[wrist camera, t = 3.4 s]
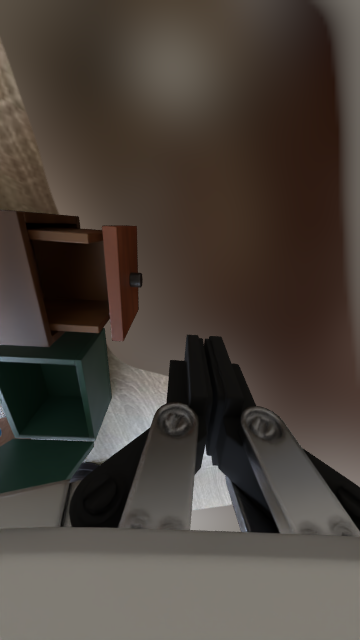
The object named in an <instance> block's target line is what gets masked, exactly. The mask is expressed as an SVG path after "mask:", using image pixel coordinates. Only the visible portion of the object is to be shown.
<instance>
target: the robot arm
mask: <svg viewBox="0 0 360 640" xmlns="http://www.w3.org/2000/svg"><path fill="white" fill-rule="evenodd" d="M185 350H186V351H185V360H184V361H177V360H170V368H169V380H168V393H167V404H165V405H163V406H161V407H160V408H159V409H158V410H157V411H156V413H155V415H154V418H153V421H152V424H151V427H150V428H149V429H148V430H146V431H145V432H144V433H142V434H141V435H140V436H138V437H137V438H136V439H134V440H133V441H132V442H130V443H129V444H128V445H126V446H125V447H124V448H122V449H121V450H120V451H118V452H117V453H116V454H114V455H113V456H112V457H110V458H109V459H108V460H106V461H105V462H104V463H102V464H101V465H100V466H98V467H97V468H95V469H94V470H93V471H91V472H90V473H89V474H88V475H87V476H86V477H85V478H84V479H82V480H80V481H75V482H71V480H70V479H67V480H62V481H58V482H53V483H48V484H43V485H39V486H34V487H29V488H24V489H19V490H15V491H10V492H5V493H0V640H360V487H358V486H357V485H356V484H354V483H353V482H351V481H350V480H349V479H347V478H346V477H344V476H342V475H341V474H340V473H338V472H337V471H335V470H334V469H332V468H331V467H329V466H328V465H326V464H325V463H324V462H322V461H321V460H319V459H318V458H316V457H315V456H313V455H311V454H310V453H309V452H307V451H306V450H304V449H303V448H302V447H301V446H300V445H299V443H298V442H297V440H296V439H295V437H294V436H293V435H292V433H291V432H290V430H289V429H288V427H287V426H286V424H285V423H284V422H283V420H281V418H280V417H279V416H278V415H276V414H275V413H274V412H272V411H270V410H268V409H266V408H263V407H259V406H256V404H255V402H254V400H253V398H252V395H251V393H250V390H249V388H248V385H247V384H246V381H245V378H244V376H243V374H242V371H241V369H240V367H239V365H238V364H231V361H230V359H229V356H228V353H227V350H226V348H225V345H224V343H223V340H222V337H218V336H210V337H209V339H205V343H204V344H203V339H202V338H199V337H198V335H187V338H186V349H185ZM205 444H206V453H207V455H209V456H212V463H213V465H216V466H218V467H219V469H220V470H221V471H222V472H223V473H224V474H225V475H226V476H225V479H226V484H227V488H228V491H229V494H230V497H231V501H232V504H233V507H234V510H235V513H236V517H237V520H238V524H239V527H240V530H241V532H226V531H196V530H190V524H191V511H192V499H193V487H194V475H195V474H196V473H197V472H198V470H199V469H200V468H201V464H202V458H203V454H204V449H205Z"/></svg>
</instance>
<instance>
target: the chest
mask: <svg viewBox="0 0 360 640" xmlns="http://www.w3.org/2000/svg"><path fill="white" fill-rule="evenodd" d="M111 399H112V395H111V385H110V375H109V366H108V356H107V346H106V337H105V329H104V328H102V330H101V331H100V332H99V333H89V332H70V331H66V332H65V333H64V334H63V335H62V336H60V337H59V338H58V339H57V340H56V341H55V342H54V343H53V344H52V345H51V346H50V347H37V346H18V345H0V404H1V406H2V408H3V411H4V413H5V415H6V418H7V420H8V422H9V425H10V427H11V430H12V432H13V434H14V437H15V438H30V439H57V440H84V441H95V440H96V437H97V435H98V432H99V430H100V427H101V425H102V422H103V419H104V417H105V414H106V412H107V409H108V406H109V404H110V401H111Z"/></svg>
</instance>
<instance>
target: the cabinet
mask: <svg viewBox="0 0 360 640" xmlns="http://www.w3.org/2000/svg"><path fill="white" fill-rule="evenodd" d="M26 225H36V226H50V227H64V228H78V229H80V222H79V217H78V216H67V215H56V214H44V213H33V212H22V211H10V210H0V345H18V346H37V347H50V346H51V345H52V344H53V343H54V342H55V341H56V340H57V339H58V338H59V337H60V336H62V335H63V334H64V333H65V332H66V331H52V330H50V327H49V322H48V318H47V314H46V309H45V305H44V301H43V297H42V292H41V288H40V284H39V279H38V275H37V271H36V266H35V262H34V258H33V253H32V249H31V245H30V241H29V236H28V232H27V228H26Z"/></svg>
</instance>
